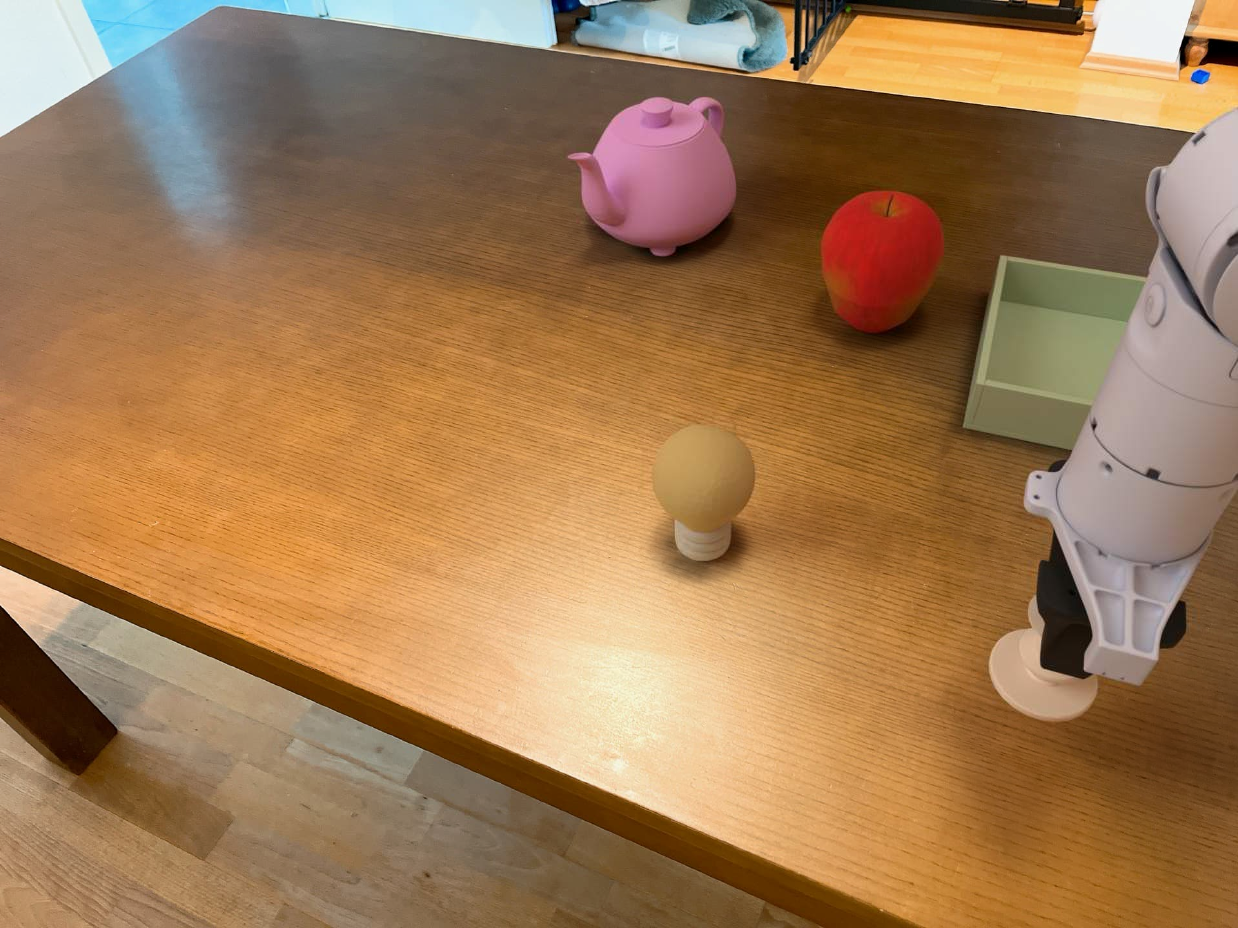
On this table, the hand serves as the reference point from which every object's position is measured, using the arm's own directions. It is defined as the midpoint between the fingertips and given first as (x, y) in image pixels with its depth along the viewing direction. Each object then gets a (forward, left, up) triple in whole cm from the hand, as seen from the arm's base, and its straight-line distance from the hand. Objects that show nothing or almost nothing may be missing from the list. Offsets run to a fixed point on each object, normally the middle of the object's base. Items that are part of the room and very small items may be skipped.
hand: (1066, 628), depth 45 cm
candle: (0, 0, -5) cm, 5 cm away
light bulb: (+21, -7, -10) cm, 24 cm away
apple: (+15, -34, -10) cm, 38 cm away
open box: (-1, -31, -10) cm, 33 cm away
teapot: (+37, -42, -10) cm, 57 cm away
